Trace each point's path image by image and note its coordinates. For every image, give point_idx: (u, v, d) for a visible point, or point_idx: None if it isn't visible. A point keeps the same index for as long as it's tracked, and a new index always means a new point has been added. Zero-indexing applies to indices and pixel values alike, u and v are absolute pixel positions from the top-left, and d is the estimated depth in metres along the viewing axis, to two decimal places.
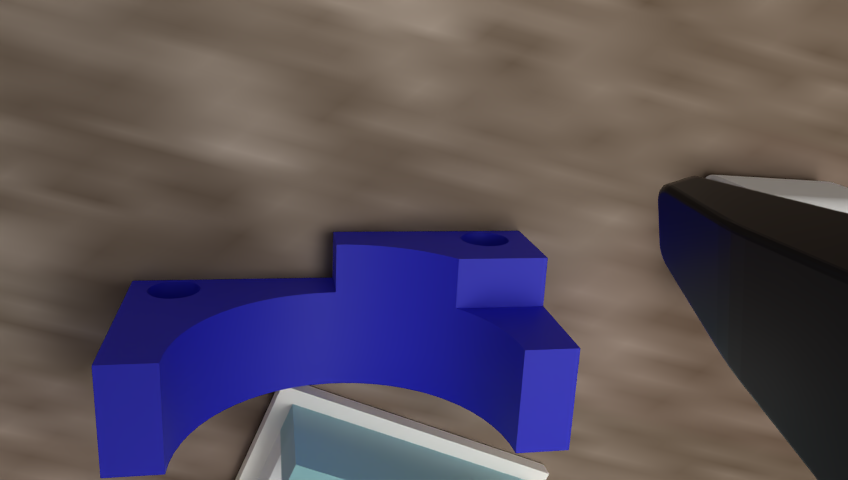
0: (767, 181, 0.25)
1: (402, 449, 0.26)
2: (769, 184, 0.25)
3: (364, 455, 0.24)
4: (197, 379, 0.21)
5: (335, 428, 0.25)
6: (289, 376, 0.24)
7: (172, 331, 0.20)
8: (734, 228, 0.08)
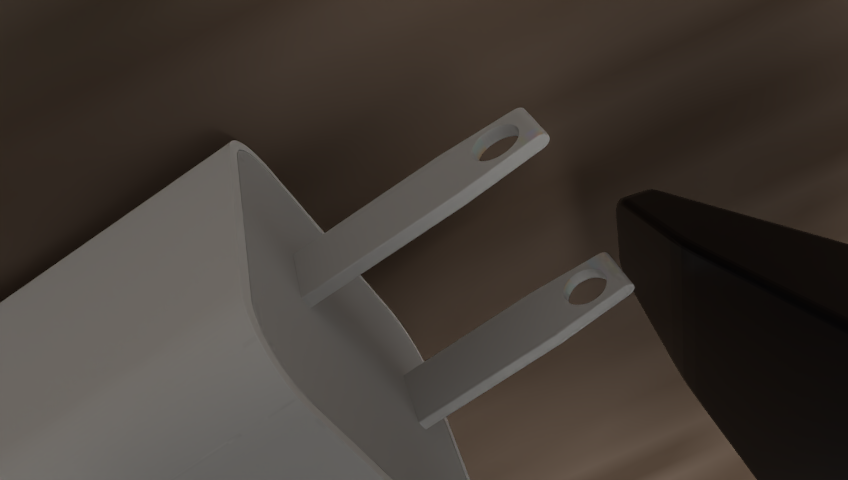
0: None
1: None
2: None
3: None
4: None
5: None
6: None
7: None
8: (684, 244, 0.07)
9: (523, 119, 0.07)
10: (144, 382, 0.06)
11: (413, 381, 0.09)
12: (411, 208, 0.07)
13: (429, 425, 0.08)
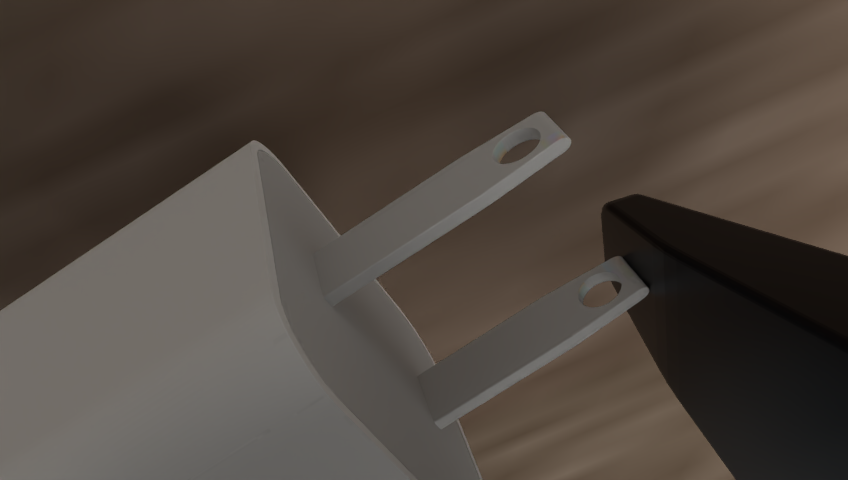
0: (18, 330, 0.08)
1: None
2: None
3: None
4: None
5: None
6: None
7: None
8: (666, 250, 0.07)
9: (544, 123, 0.07)
10: (176, 378, 0.06)
11: (428, 382, 0.09)
12: (432, 210, 0.07)
13: (444, 425, 0.08)
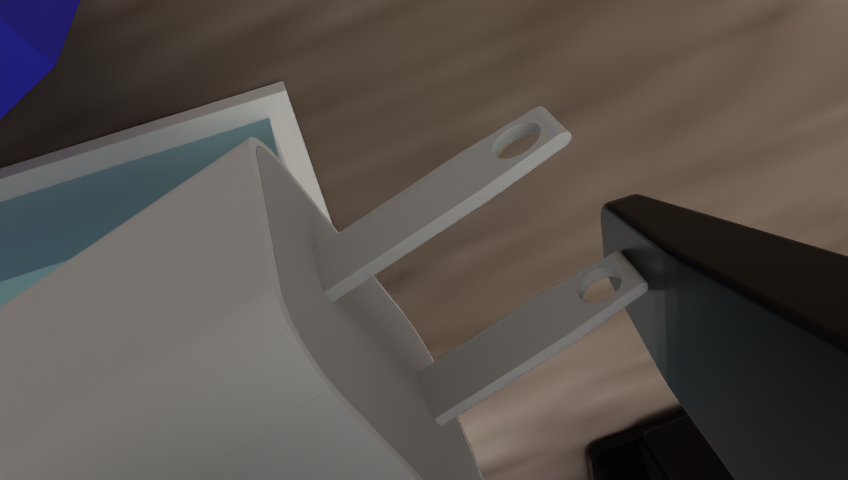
0: (15, 328, 0.08)
1: (42, 201, 0.17)
2: None
3: None
4: None
5: None
6: None
7: None
8: (666, 250, 0.07)
9: (544, 117, 0.07)
10: (176, 373, 0.06)
11: (427, 378, 0.09)
12: (433, 204, 0.07)
13: (444, 422, 0.08)
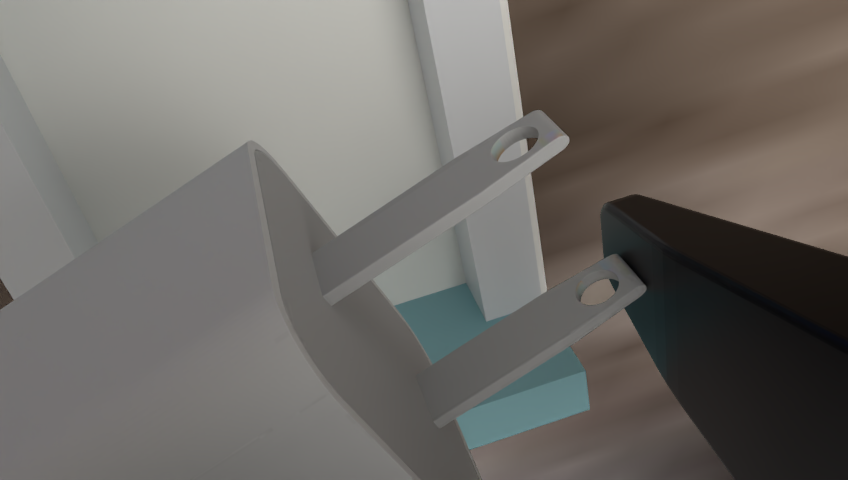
0: (14, 332, 0.08)
1: None
2: None
3: None
4: None
5: None
6: None
7: None
8: (666, 250, 0.07)
9: (542, 121, 0.07)
10: (176, 377, 0.06)
11: (426, 381, 0.09)
12: (432, 208, 0.07)
13: (443, 424, 0.08)
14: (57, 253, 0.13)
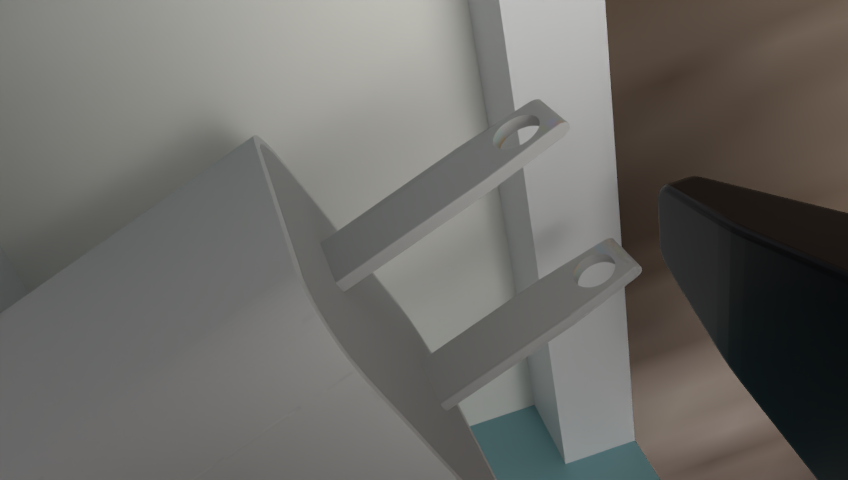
0: (27, 328, 0.08)
1: None
2: (0, 373, 0.07)
3: None
4: None
5: None
6: None
7: None
8: (734, 228, 0.08)
9: (542, 109, 0.08)
10: (206, 359, 0.06)
11: (430, 366, 0.09)
12: (440, 196, 0.07)
13: (450, 407, 0.09)
14: None
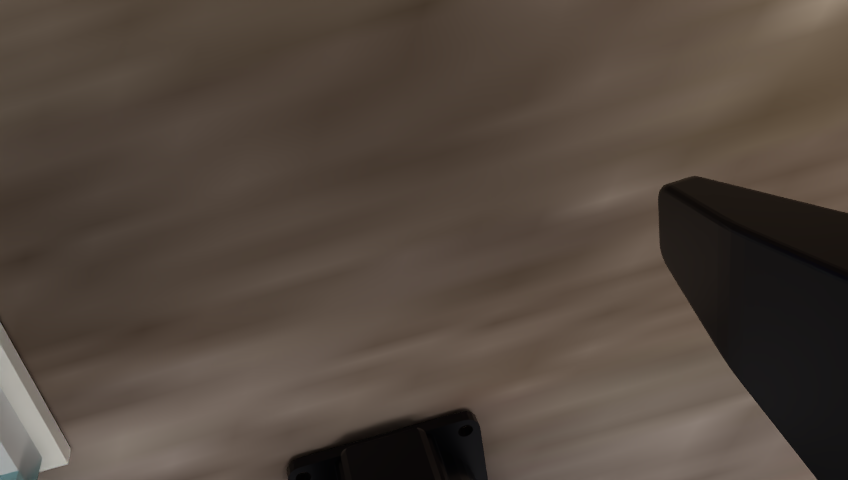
0: None
1: None
2: None
3: None
4: None
5: None
6: None
7: None
8: (734, 228, 0.08)
9: None
10: None
11: None
12: None
13: None
14: None
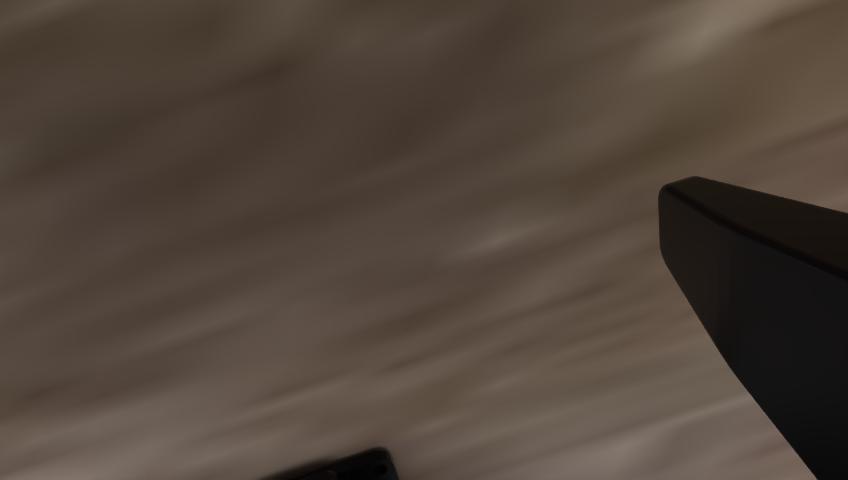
0: None
1: None
2: None
3: None
4: None
5: None
6: None
7: None
8: (734, 228, 0.08)
9: None
10: None
11: None
12: None
13: None
14: None
